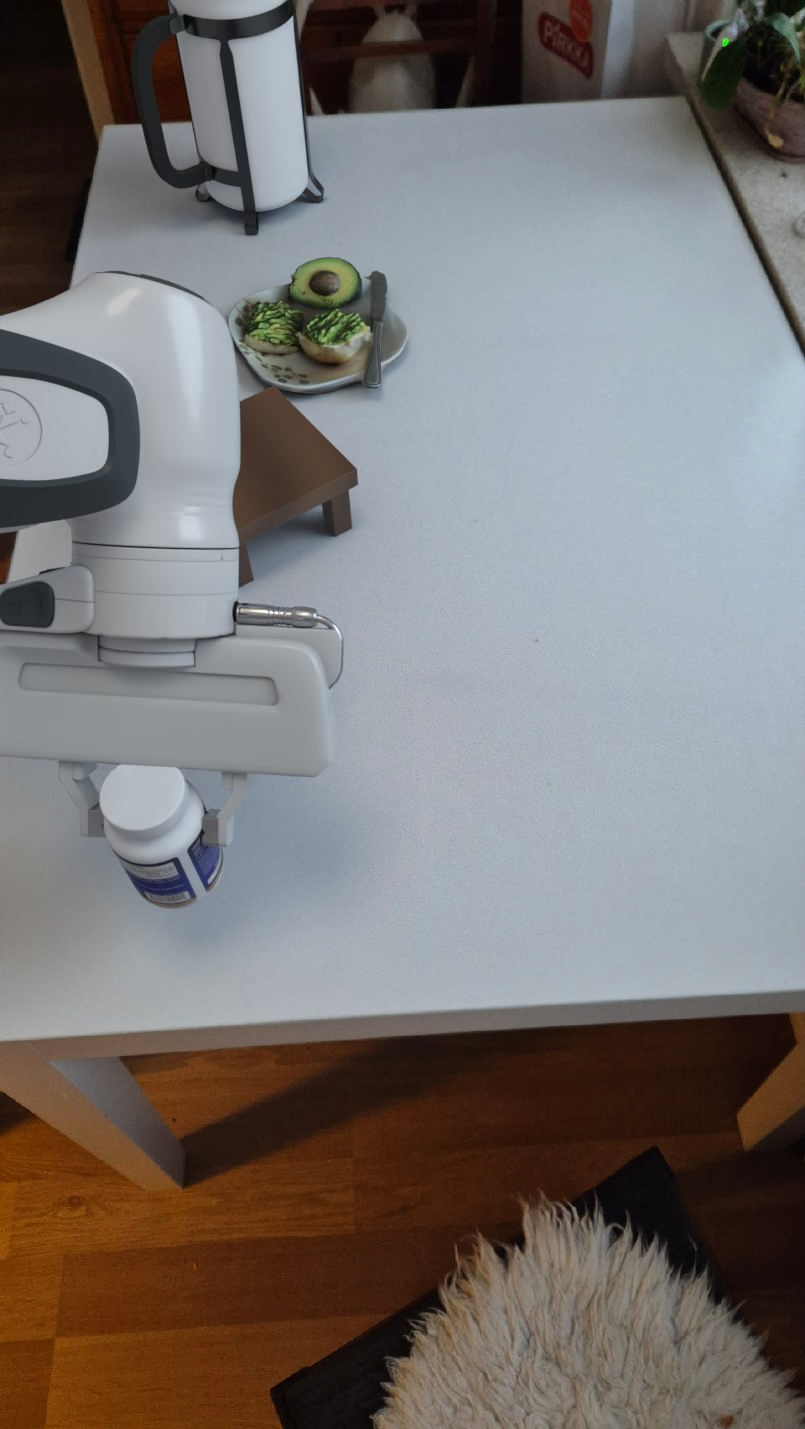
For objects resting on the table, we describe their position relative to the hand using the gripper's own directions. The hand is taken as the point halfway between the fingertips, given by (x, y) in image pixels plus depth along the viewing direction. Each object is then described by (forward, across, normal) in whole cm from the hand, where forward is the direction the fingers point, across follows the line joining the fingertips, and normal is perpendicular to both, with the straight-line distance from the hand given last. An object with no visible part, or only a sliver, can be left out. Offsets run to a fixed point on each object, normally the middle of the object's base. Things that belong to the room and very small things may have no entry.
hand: (157, 839), depth 58 cm
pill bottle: (+4, 0, -4) cm, 6 cm away
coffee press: (-53, +11, -70) cm, 88 cm away
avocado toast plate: (-36, 0, -53) cm, 64 cm away
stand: (-18, +2, -35) cm, 39 cm away
